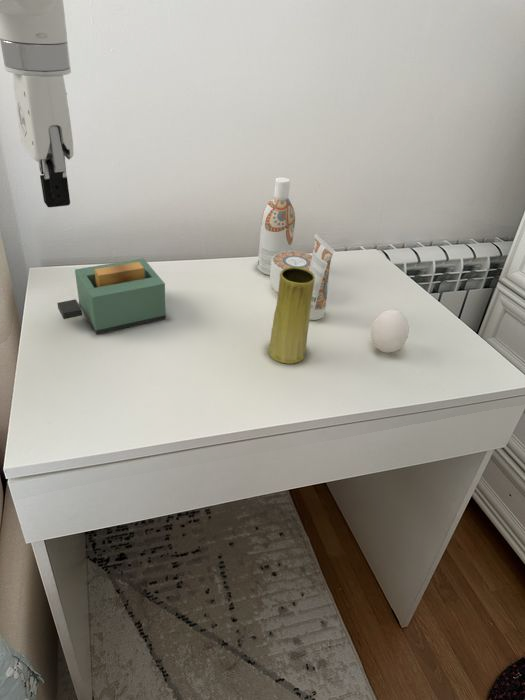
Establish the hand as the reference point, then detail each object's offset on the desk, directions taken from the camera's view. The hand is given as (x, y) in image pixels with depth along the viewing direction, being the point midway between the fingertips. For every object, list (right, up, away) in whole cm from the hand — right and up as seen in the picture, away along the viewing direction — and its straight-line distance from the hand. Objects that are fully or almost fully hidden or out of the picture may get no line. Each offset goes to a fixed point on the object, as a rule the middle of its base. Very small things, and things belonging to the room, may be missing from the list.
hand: (57, 204), depth 75 cm
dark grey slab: (-3, -14, +12) cm, 19 cm away
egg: (+50, -21, +15) cm, 56 cm away
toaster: (+5, -14, +18) cm, 23 cm away
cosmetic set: (+34, -9, +29) cm, 46 cm away
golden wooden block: (+5, -13, +17) cm, 22 cm away
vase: (+33, -21, +12) cm, 41 cm away
